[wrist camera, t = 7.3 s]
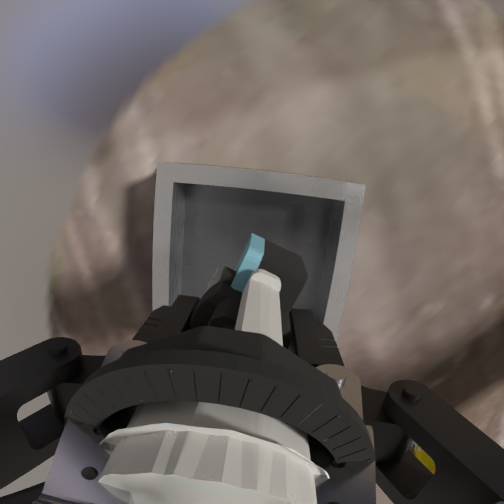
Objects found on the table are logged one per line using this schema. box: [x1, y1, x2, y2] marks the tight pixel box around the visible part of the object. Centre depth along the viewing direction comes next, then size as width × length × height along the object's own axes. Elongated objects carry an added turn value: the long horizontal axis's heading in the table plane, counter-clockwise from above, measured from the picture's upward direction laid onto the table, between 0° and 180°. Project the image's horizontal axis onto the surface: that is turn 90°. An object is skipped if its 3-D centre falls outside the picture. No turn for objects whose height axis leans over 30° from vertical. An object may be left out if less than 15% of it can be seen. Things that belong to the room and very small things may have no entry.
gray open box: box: [152, 163, 365, 341], centre depth 20 cm, size 12×16×4 cm
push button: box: [64, 233, 376, 504], centre depth 8 cm, size 7×5×10 cm
